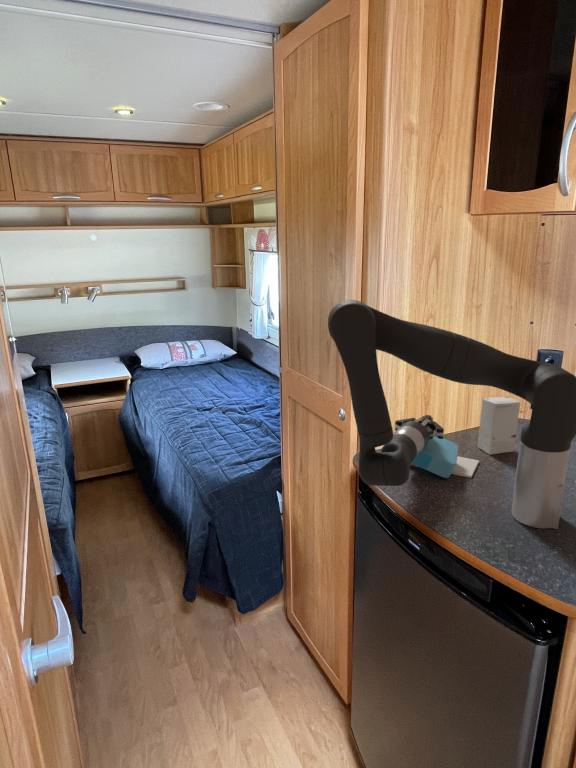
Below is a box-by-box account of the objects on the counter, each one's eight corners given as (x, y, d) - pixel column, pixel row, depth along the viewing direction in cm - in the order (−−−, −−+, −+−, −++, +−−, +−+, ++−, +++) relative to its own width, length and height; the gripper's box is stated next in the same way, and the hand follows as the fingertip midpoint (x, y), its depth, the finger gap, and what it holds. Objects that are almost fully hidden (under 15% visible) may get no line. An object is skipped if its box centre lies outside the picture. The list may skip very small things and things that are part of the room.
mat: (478, 462, 133) (479, 460, 133) (471, 478, 125) (471, 475, 125) (426, 452, 140) (426, 450, 140) (415, 466, 132) (416, 464, 131)
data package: (448, 480, 123) (452, 458, 134) (456, 466, 121) (459, 444, 132) (402, 459, 126) (410, 439, 136) (409, 445, 124) (416, 426, 134)
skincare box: (489, 455, 137) (494, 404, 133) (476, 446, 143) (480, 397, 138) (515, 451, 139) (521, 401, 135) (501, 443, 145) (506, 394, 140)
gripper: (437, 431, 114) (455, 409, 128) (382, 421, 121) (404, 401, 135) (435, 461, 116) (452, 436, 131) (381, 450, 123) (403, 427, 137)
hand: (428, 418), depth 133 cm, fingers closed
